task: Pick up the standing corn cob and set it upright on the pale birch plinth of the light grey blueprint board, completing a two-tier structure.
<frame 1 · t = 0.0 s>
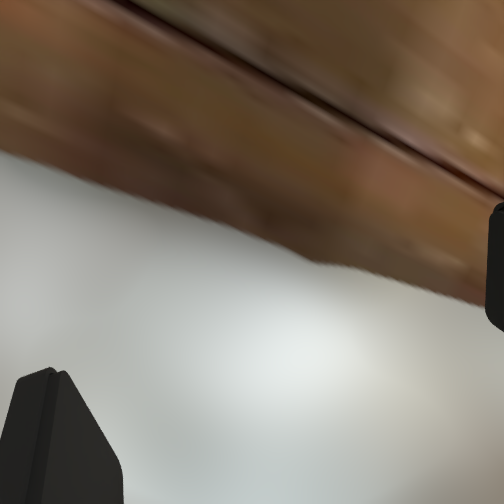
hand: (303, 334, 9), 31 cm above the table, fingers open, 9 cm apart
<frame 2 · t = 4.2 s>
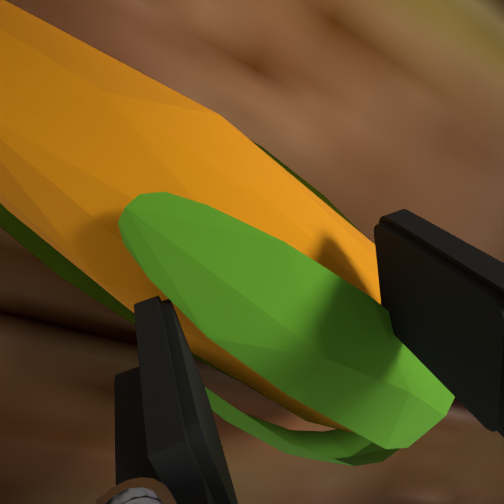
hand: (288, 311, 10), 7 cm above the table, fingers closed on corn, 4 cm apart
corn: (205, 229, 16), on the table, touching gripper
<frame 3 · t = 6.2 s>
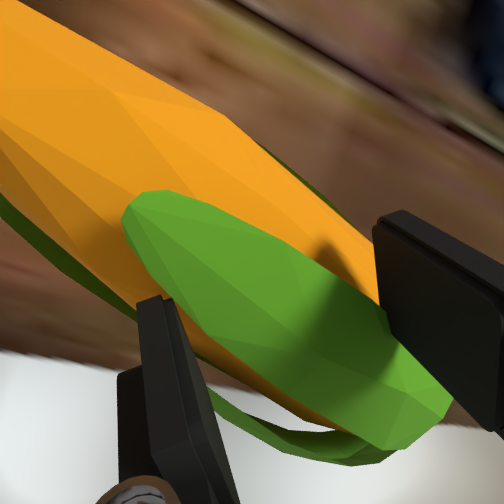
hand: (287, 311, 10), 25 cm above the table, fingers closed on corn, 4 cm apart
corn: (207, 229, 16), point 18 cm above the table, touching gripper
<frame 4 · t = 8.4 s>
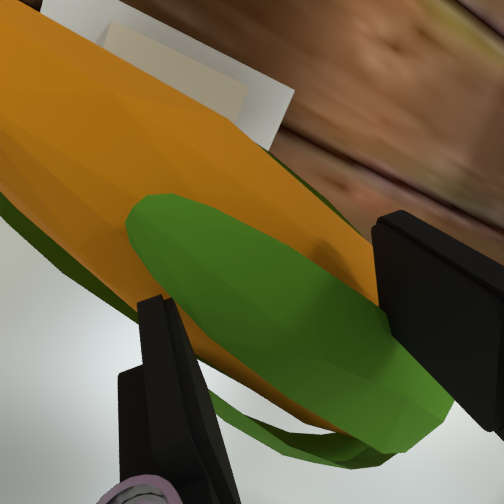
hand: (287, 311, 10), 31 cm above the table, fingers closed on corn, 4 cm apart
blueprint board: (155, 119, 37), on the table
corn: (209, 231, 16), point 24 cm above the table, touching gripper
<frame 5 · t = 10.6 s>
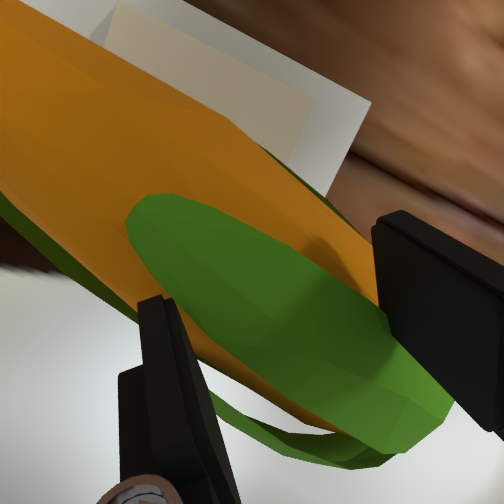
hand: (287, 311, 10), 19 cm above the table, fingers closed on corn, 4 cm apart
blueprint board: (179, 143, 26), on the table
corn: (209, 230, 16), point 12 cm above the table, touching gripper
when the fingers open (11 cm above the table, at t = 12.5 s): corn drops 1 cm, resting on blueprint board.
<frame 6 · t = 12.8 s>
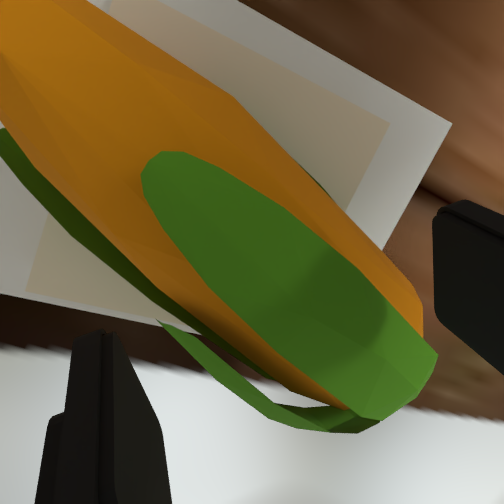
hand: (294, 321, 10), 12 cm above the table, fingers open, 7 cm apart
blueprint board: (199, 179, 20), on the table
corn: (207, 209, 17), point 3 cm above the table, touching blueprint board
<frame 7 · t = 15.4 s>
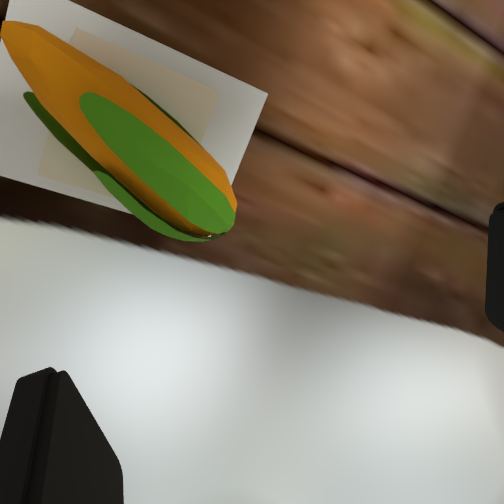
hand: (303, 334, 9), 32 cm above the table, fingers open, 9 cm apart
blueprint board: (128, 125, 37), on the table
corn: (126, 136, 34), point 3 cm above the table, touching blueprint board
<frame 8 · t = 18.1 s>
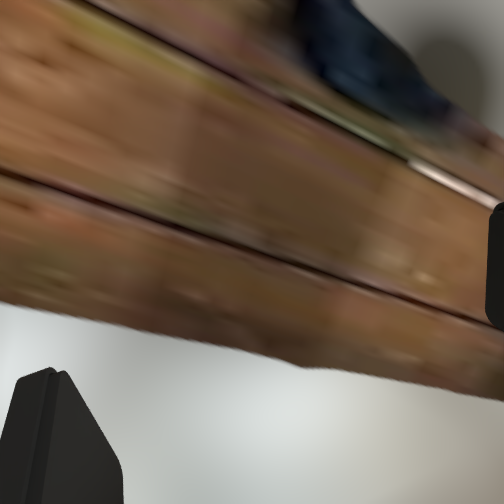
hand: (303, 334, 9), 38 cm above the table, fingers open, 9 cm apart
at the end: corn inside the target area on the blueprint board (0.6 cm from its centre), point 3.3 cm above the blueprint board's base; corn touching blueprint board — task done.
